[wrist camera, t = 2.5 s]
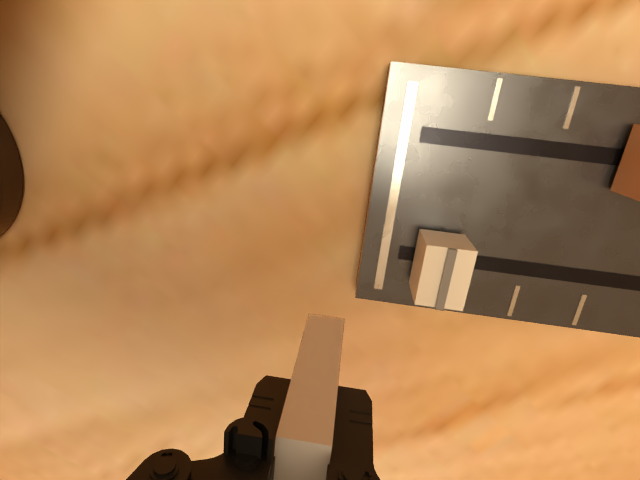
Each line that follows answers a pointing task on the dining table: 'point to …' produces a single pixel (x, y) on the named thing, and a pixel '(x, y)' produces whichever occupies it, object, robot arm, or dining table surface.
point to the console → (508, 194)
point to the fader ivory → (442, 269)
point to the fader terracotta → (629, 168)
